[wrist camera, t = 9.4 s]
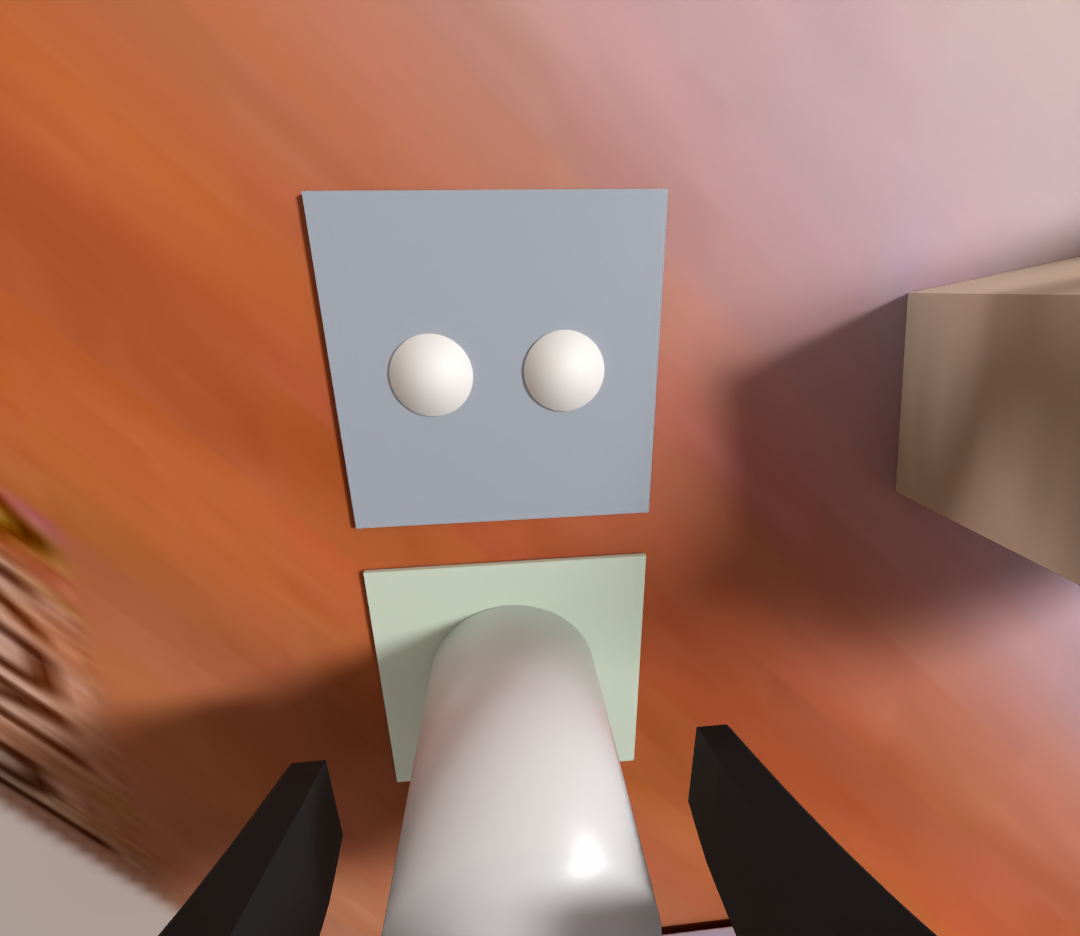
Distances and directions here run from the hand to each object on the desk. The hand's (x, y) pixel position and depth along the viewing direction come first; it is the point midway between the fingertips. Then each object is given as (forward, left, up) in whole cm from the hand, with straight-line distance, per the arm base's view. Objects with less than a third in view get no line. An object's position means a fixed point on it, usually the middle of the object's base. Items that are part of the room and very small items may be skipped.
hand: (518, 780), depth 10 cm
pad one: (0, 0, -3) cm, 3 cm away
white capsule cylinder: (0, 0, -3) cm, 3 cm away
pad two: (+8, 0, -3) cm, 8 cm away
